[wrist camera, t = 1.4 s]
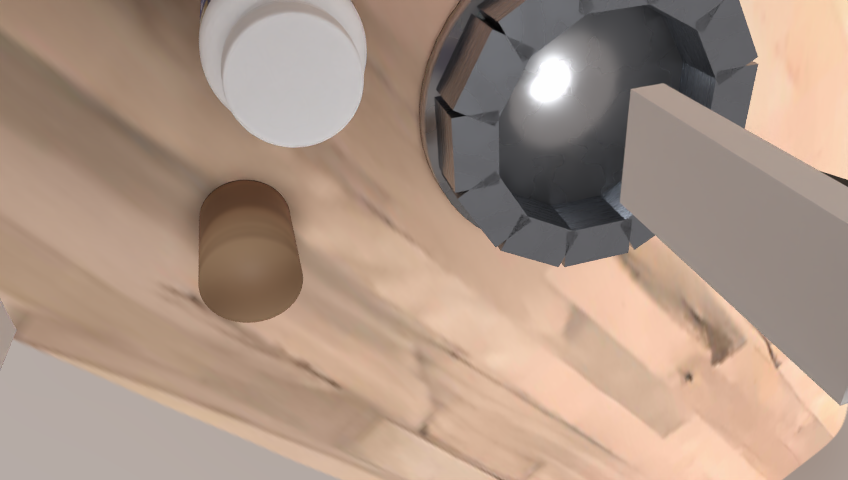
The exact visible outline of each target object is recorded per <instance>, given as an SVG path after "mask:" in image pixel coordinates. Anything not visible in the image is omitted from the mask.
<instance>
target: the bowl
mask: <svg viewBox="0 0 848 480" xmlns="http://www.w3.org/2000/svg"><path fill="white" fill-rule="evenodd" d="M757 57H758V56H757V53H756V50H755V47H754V44H753V41H752V38H751V35H750V32H749V29H748V26H747V23H746V20H745V17H744V14H743V11H742V8H741V5H740V2H739V0H461V1H460V2H459V4H458V5H457V7H456V8H455V10H454V11H453V12H452V14H451V15H450V17H449V18H448V20H447V22H446V23H445V25H444V27H443V29H442V31H441V33H440V35H439V37H438V39H437V41H436V43H435V45H434V48H433V51H432V53H431V56H430V58H429V61H428V64H427V68H426V72H425V76H424V80H423V84H422V92H421V100H420V130H421V136H422V143H423V148H424V151H425V154H426V158H427V161H428V164H429V166H430V168H431V170H432V173H433V175H434V177H435V179H436V181H437V182H438V184H439V186H440V187H441V189H442V190H443V192H444V193H445V195H446V196H447V198H448V199H449V201H450V202H451V204H452V205H453V206H454V207H455V208H456V209H457V210H458V211H459V212H460V213H461V214H462V215H463V216H464V217H465V218H466V219H467V220H469V221H470V222H471V223H473V224H474V225H475V226H476V227H478V228H480V229H482V231H483V232H484V233H485V234H486V236H487V237H488V238H489V239H490V241H491V242H492V243H493V244H494V246H495V247H497V246H498V247H499V249H500V250H501V251H504V252H507V253H511V254H515V255H518V256H522V257H525V258H529V259H532V260H536V261H539V262H543V263H546V264H550V265H553V266H557V267H559V265H560V264H561V263H562V264H563V266H564V267H567V266H571V265H576V264H580V263H585V262H589V261H593V260H598V259H602V258H607V257H611V256H615V255H620V254H624V253H628V250H629V245H630V246H631V247H632V248H633V249H634V250H635V249H636V248H638V247H639V246H640V245H642V244H643V243H645V242H646V241H648V240H649V239H650V238H652V237H653V236H655V235H654V234H653V233H652V232H651V231H650V230H649V229H648V228H647V227H646V226H645V225H644V224H643V223H641V222H640V221H639V220H638V219H637V218H636V217H635V216H634V215H633V214H632V213H631V212H629V211H628V210H627V209H626V208H625V207H624V206H623V205H622V204H621V203H620V195H621V184H622V174H623V163H624V153H625V143H626V132H627V122H628V112H629V101H630V91H631V89H633V88H639V87H645V86H650V85H656V84H661V83H664V84H666V85H668V86H669V87H671V88H673V89H675V90H676V91H678V92H680V93H682V94H684V95H685V96H687V97H689V98H691V99H692V100H694V101H696V102H698V103H700V104H701V105H703V106H705V107H707V108H708V109H710V110H712V111H714V112H715V113H717V114H719V115H721V116H723V117H724V118H726V119H728V120H730V121H731V122H733V123H735V124H737V125H739V126H740V127H742V128H745V124H746V119H747V114H748V109H749V105H750V100H751V95H752V90H753V86H754V81H755V76H756V71H757V67H758V64H757V63H755V62H753V60H754V59H756V58H757Z"/></svg>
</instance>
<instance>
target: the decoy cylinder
mask: <svg viewBox="0 0 848 480" xmlns="http://www.w3.org/2000/svg"><path fill="white" fill-rule="evenodd" d="M302 284H303V274H302V269H301V264H300V259H299V254H298V250H297V245H296V240H295V236H294V231H293V226H292V221H291V217H290V212H289V208H288V205H287V203H286V201H285V200H284V198H283V197H282V196H281V194H280V193H279V192H277V191H276V190H275V189H273V188H272V187H270V186H268V185H266V184H264V183H261V182H257V181H250V180H240V181H234V182H230V183H227V184H224V185H222V186H220V187H219V188H217V189H216V190H214V191H213V192H212V193H211V194H210V195H209V196H208V197H207V198H206V200H205V201H204V203H203V205H202V207H201V211H200V216H199V291H200V295H201V297H202V299H203V301H204V302H205V304H206V305H207V306H208V307H209V308H210V309H211V310H212V311H213V312H214V313H216V314H217V315H219V316H221V317H223V318H226V319H228V320H232V321H236V322H246V323H250V322H259V321H264V320H268V319H270V318H273V317H275V316H277V315H279V314H281V313H282V312H284V311H285V310H287V309H288V308H289V307H290V306H291V305H292V304H293V303H294V302H295V300H296V299H297V297H298V295H299V294H300V291H301V288H302Z"/></svg>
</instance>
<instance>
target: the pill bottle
mask: <svg viewBox="0 0 848 480" xmlns="http://www.w3.org/2000/svg"><path fill="white" fill-rule="evenodd" d="M199 52H200V59H201V63H202V68H203V71H204V74H205V76H206V79H207V81H208V83H209V85H210V87H211V89H212V90H213V92H214V93H215V95H216V96H217V97H218V99H219V100H220V101H221V102H222V103H223V105H224V106H226V107H227V108H228V109H229V110H230V111H231V112H232V114H233V115H234V117H235V118H236V119H237V120H238V122H239V123H240V124H241V125H242V126H243V127H244V128H245V129H246V130H247V131H248V132H250V133H251V134H252V135H254V136H256V137H257V138H259V139H261V140H263V141H265V142H267V143H270V144H273V145H277V146H282V147H290V148H296V147H307V146H311V145H315V144H318V143H321V142H323V141H325V140H327V139H329V138H331V137H333V136H334V135H336V134H337V133H338V132H340V131H341V130H342V129H343V128H344V127H345V126H346V125H347V124H348V123H349V121H350V120H351V119H352V117H353V116H354V114H355V112H356V111H357V109H358V106H359V104H360V101H361V98H362V94H363V88H364V72H365V67H366V58H367V44H366V36H365V32H364V28H363V24H362V21H361V19H360V16H359V14H358V12H357V10H356V8H355V7H354V5H353V3H352V1H351V0H201V9H200V26H199Z"/></svg>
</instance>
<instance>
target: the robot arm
mask: <svg viewBox="0 0 848 480" xmlns="http://www.w3.org/2000/svg"><path fill="white" fill-rule="evenodd" d="M620 203H621V204H622V205H623V206H624V207H625V208H626V209H627V210H628V211H629V212H631V213H632V214H633V215H634V216H635V217H636V218H637V219H638V220H639V221H640V222H641V223H643V224H644V225H645V226H646V227H647V228H648V229H649V230H650V231H651V232H652V233H653V234H654V235H656V236H657V237H658V238H659V239H660V240H661V241H662V242H663V243H664V244H665V245H666V246H668V247H669V248H670V249H671V250H672V251H673V252H674V253H675V254H676V255H677V256H678V257H679V258H681V259H682V260H683V261H684V262H685V263H686V264H687V265H688V266H689V267H690V268H691V269H693V270H694V271H695V272H696V273H697V274H698V275H699V276H700V277H701V278H702V279H703V280H704V281H706V282H707V283H708V284H709V285H710V286H711V287H712V288H713V289H714V290H715V291H716V292H717V293H719V294H720V295H721V296H722V297H723V298H724V299H725V300H726V301H727V302H728V303H729V304H731V305H732V306H733V307H734V308H735V309H736V310H737V311H738V312H739V313H740V314H741V315H742V316H744V317H745V318H746V319H747V320H748V321H749V322H750V323H751V324H752V325H753V326H754V327H756V328H757V329H758V330H759V331H760V332H761V333H762V334H763V335H764V336H765V337H766V338H767V339H769V340H770V341H771V342H772V343H773V344H774V345H775V346H776V347H777V348H778V349H779V350H780V351H782V352H783V353H784V354H785V355H786V356H787V357H788V358H789V359H790V360H791V361H792V362H794V363H795V364H796V365H797V366H798V367H799V368H800V369H801V370H802V371H803V372H804V373H805V374H807V375H808V376H809V377H810V378H811V379H812V380H813V381H814V382H815V383H816V384H817V385H819V386H820V387H821V388H822V389H823V390H824V391H825V392H826V393H827V394H828V395H829V396H830V397H832V398H833V399H834V400H835V401H836V402H837V403H838V404H839V405H843V404H847V403H848V180H846V179H843V178H840V177H837V176H834V175H831V174H827V173H824V172H821V171H818V170H817V169H815V168H813V167H811V166H810V165H808V164H806V163H804V162H802V161H801V160H799V159H797V158H795V157H794V156H792V155H790V154H788V153H786V152H785V151H783V150H781V149H779V148H778V147H776V146H774V145H772V144H771V143H769V142H767V141H765V140H763V139H762V138H760V137H758V136H756V135H755V134H753V133H751V132H749V131H747V130H746V129H744V128H742V127H740V126H739V125H737V124H735V123H733V122H731V121H730V120H728V119H726V118H724V117H723V116H721V115H719V114H717V113H715V112H714V111H712V110H710V109H708V108H707V107H705V106H703V105H701V104H700V103H698V102H696V101H694V100H692V99H691V98H689V97H687V96H685V95H684V94H682V93H680V92H678V91H676V90H675V89H673V88H671V87H669V86H668V85H666V84H664V83H661V84H656V85H650V86H645V87H639V88H633V89H631V91H630V101H629V112H628V122H627V132H626V143H625V153H624V163H623V174H622V184H621V195H620ZM16 330H17V329H16V327H15V326H14V324H13V322H12V320H11V318H10V316H9V314H8V313H7V311H6V309H5V307H4V305H3V303H2V301H1V299H0V370H1V367H2V365H3V362H4V360H5V357H6V355H7V352H8V350H9V347H10V345H11V342H12V340H13V337H14V335H15V332H16Z"/></svg>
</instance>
